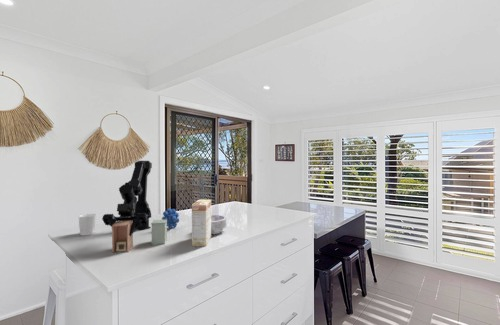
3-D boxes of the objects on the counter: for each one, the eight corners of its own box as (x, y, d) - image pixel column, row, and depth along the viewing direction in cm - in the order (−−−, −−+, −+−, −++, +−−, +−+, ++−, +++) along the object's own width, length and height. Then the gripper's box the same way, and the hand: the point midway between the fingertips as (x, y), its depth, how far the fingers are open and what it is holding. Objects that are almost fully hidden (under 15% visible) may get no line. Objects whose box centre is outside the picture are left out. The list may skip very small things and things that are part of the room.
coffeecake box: (198, 236, 138) (198, 199, 138) (211, 236, 138) (211, 199, 137) (191, 246, 123) (191, 204, 123) (206, 246, 123) (206, 204, 122)
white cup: (88, 236, 137) (87, 217, 137) (75, 235, 138) (74, 216, 138) (99, 232, 145) (99, 214, 144) (87, 231, 146) (87, 213, 146)
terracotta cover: (117, 247, 121) (117, 221, 121) (132, 246, 122) (132, 220, 122) (112, 252, 114) (112, 225, 114) (128, 251, 115) (128, 224, 115)
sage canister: (154, 240, 131) (153, 220, 131) (167, 239, 132) (167, 219, 132) (151, 244, 125) (151, 223, 125) (165, 244, 126) (165, 222, 126)
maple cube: (119, 248, 120) (119, 239, 120) (128, 247, 121) (128, 239, 120) (116, 251, 116) (116, 242, 116) (126, 251, 117) (126, 242, 116)
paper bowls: (192, 233, 143) (192, 219, 142) (209, 227, 156) (209, 213, 156) (215, 237, 136) (215, 222, 135) (231, 230, 149) (231, 216, 149)
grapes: (167, 232, 145) (167, 210, 145) (159, 230, 149) (159, 209, 149) (183, 227, 155) (183, 207, 154) (176, 225, 159) (176, 205, 158)
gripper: (103, 196, 120) (93, 227, 110) (146, 195, 123) (140, 225, 112) (110, 210, 128) (101, 240, 118) (150, 209, 131) (145, 238, 120)
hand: (121, 235), depth 117 cm, fingers closed on terracotta cover, 7 cm apart
